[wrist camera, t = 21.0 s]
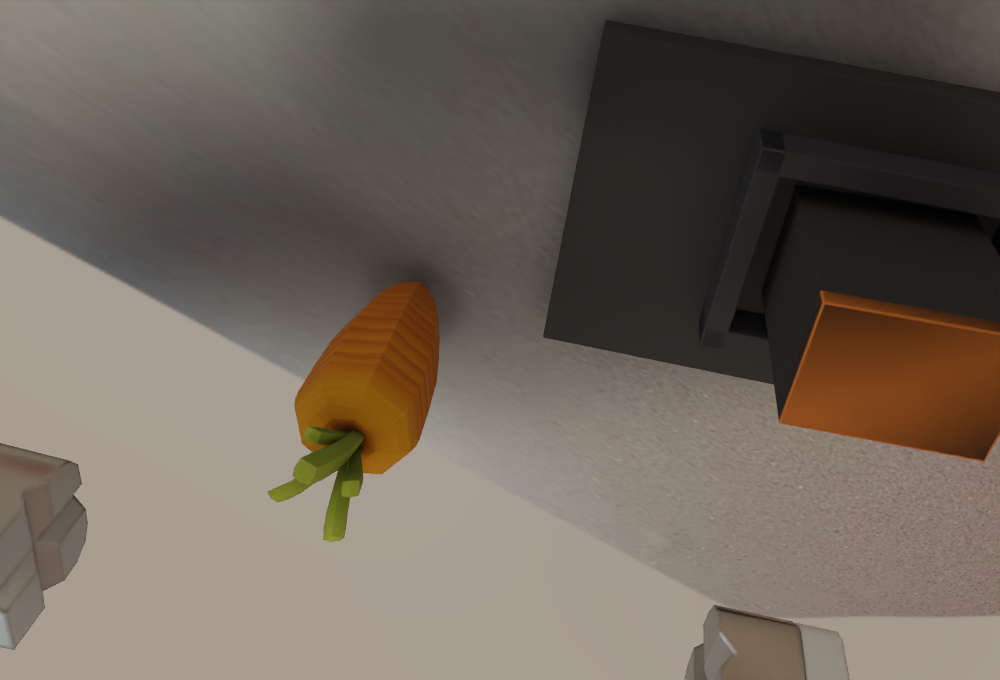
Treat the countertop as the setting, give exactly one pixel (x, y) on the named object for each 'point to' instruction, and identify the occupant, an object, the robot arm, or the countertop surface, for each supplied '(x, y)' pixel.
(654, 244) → the base pad
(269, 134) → the countertop surface
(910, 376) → the pad block
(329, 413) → the carrot
